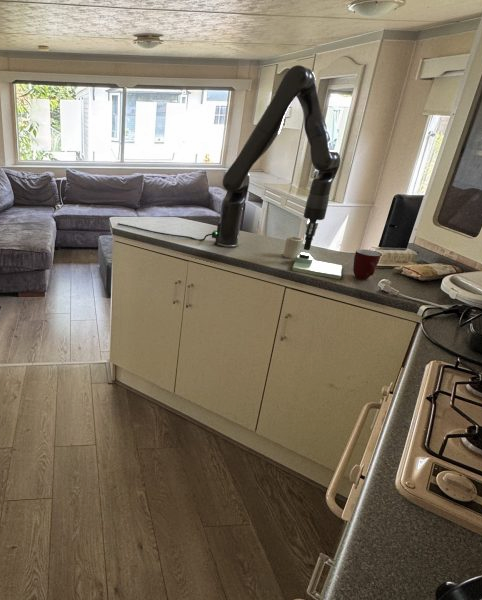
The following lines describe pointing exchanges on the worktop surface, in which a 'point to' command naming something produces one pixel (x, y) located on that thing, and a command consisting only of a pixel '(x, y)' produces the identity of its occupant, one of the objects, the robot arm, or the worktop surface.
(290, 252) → the cream cup
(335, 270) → the scale
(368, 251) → the mug
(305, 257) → the tare button
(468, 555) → the worktop surface
